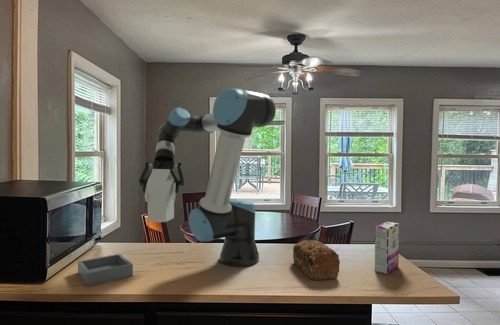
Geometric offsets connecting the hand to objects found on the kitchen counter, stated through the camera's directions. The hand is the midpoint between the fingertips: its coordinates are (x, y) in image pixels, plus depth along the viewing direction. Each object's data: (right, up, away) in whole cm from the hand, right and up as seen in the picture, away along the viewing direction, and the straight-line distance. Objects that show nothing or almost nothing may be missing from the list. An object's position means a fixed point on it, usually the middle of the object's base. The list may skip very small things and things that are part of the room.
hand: (160, 199), depth 119 cm
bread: (+56, -26, -1) cm, 61 cm away
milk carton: (-1, -8, +4) cm, 9 cm away
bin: (-17, -25, -7) cm, 31 cm away
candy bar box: (+82, -26, +1) cm, 86 cm away
